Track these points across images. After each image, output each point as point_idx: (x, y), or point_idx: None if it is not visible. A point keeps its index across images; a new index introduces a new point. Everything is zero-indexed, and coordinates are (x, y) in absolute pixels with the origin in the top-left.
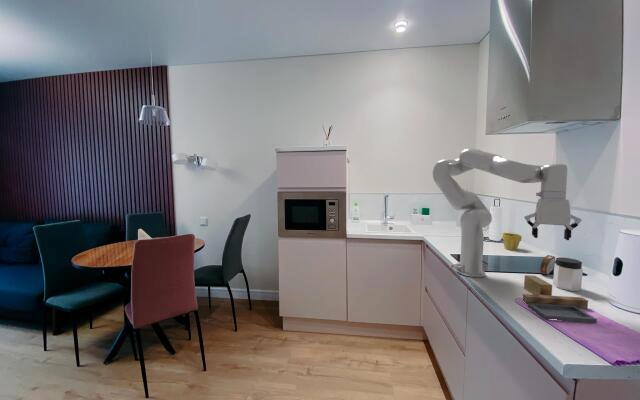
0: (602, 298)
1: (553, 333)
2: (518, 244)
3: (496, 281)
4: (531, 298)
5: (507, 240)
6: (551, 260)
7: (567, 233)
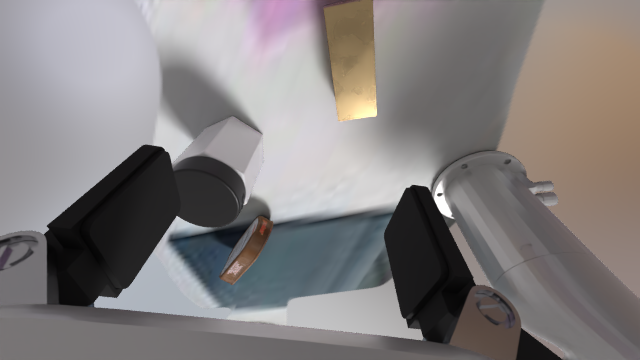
0: (163, 81)
1: None
2: None
3: (430, 136)
4: None
5: None
6: (234, 258)
7: (115, 196)
